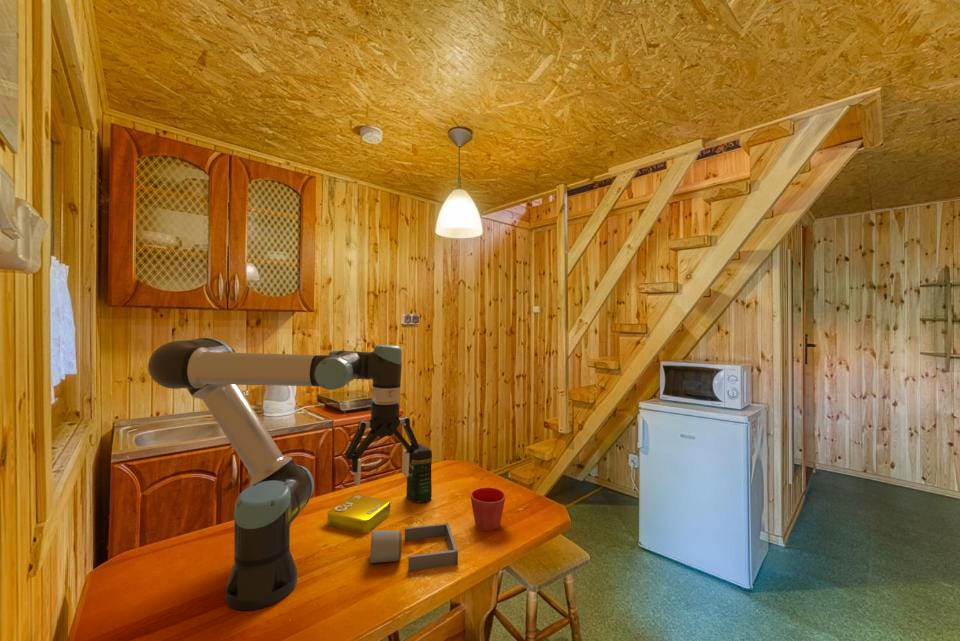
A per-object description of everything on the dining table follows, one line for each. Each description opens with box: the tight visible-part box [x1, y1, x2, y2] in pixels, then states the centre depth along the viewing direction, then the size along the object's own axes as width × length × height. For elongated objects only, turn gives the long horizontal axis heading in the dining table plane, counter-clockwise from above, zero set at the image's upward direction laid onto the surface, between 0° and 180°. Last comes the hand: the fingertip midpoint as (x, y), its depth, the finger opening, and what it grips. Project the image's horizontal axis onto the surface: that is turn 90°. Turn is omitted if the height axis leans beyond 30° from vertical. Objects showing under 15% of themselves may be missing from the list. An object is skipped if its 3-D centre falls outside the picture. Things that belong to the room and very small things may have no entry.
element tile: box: [326, 494, 391, 534], centre depth 132 cm, size 15×15×5 cm
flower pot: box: [470, 486, 506, 532], centre depth 129 cm, size 11×11×10 cm
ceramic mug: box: [369, 529, 403, 564], centre depth 112 cm, size 11×8×8 cm
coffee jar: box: [406, 443, 433, 503], centre depth 147 cm, size 10×8×19 cm
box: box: [404, 522, 459, 572], centre depth 114 cm, size 13×15×4 cm
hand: (382, 479), depth 113 cm, fingers open, 13 cm apart
